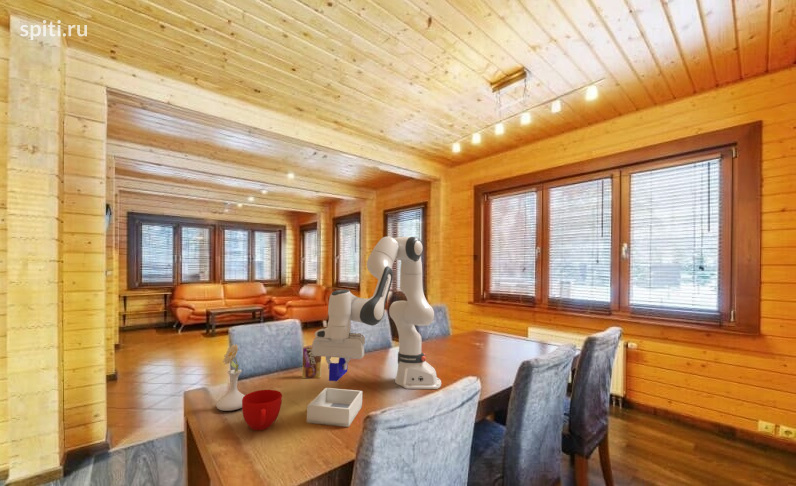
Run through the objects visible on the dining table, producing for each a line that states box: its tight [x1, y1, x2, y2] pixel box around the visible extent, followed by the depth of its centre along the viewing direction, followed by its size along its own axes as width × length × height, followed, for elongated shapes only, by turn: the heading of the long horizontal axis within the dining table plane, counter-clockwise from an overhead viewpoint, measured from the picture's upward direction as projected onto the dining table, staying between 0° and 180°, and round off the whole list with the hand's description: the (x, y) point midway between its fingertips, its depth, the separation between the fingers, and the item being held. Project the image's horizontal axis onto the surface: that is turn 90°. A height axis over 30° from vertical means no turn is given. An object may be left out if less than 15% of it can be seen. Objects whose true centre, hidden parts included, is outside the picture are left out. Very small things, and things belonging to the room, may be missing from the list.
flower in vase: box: [216, 343, 246, 412], centre depth 131 cm, size 13×11×25 cm
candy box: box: [301, 345, 322, 379], centre depth 168 cm, size 9×4×15 cm, turn 99°
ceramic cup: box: [241, 389, 283, 431], centre depth 115 cm, size 13×17×10 cm
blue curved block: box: [328, 358, 349, 382], centre depth 128 cm, size 12×4×6 cm, turn 170°
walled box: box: [306, 387, 363, 428], centre depth 127 cm, size 16×18×6 cm
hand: (337, 368), depth 128 cm, fingers closed on blue curved block, 4 cm apart
